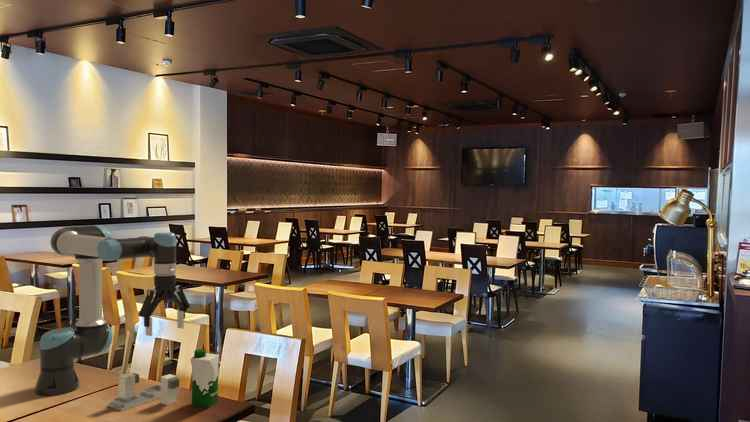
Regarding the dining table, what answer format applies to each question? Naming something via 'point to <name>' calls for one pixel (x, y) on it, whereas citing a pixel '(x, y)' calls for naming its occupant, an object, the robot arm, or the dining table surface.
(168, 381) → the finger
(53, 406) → the dining table surface
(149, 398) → the rail
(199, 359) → the milk carton
